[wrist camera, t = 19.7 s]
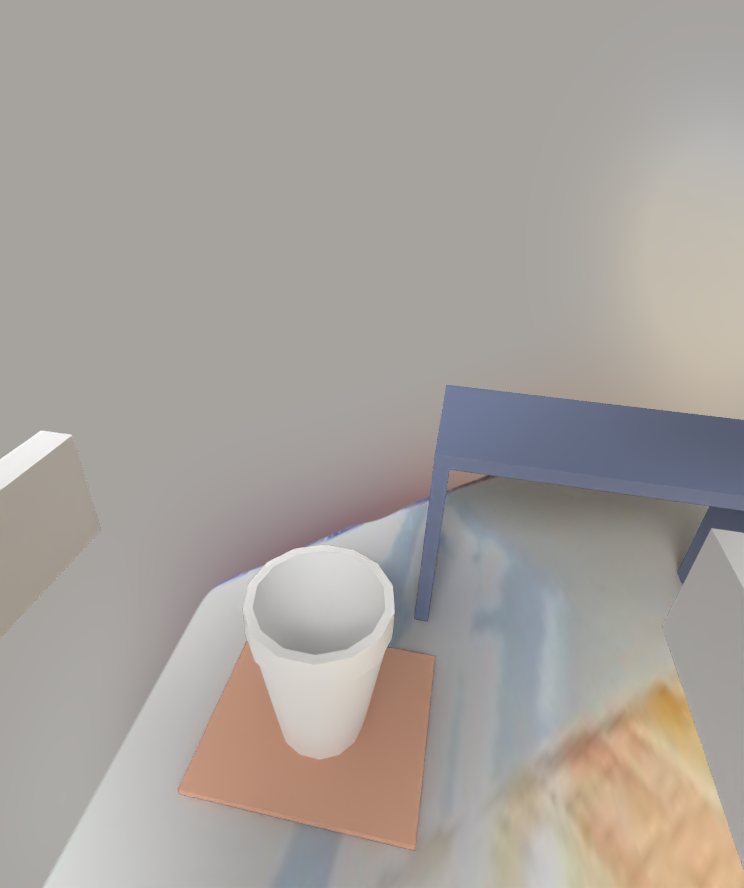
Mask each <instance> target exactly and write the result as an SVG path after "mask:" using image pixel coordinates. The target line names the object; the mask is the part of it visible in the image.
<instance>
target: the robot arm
mask: <svg viewBox="0 0 744 888" xmlns="http://www.w3.org/2000/svg"><path fill="white" fill-rule="evenodd" d="M100 531H101V527H100V524H99V521H98V517H97V514H96V511H95V507H94V504H93V501H92V498H91V495H90V491H89V488H88V485H87V481H86V478H85V475H84V472H83V468H82V465H81V462H80V458H79V455H78V452H77V448H76V446H75V442H74V439H73V436H72V435H68V434H61V433H54V432H48V431H40V432H39V433H37V434H36V435H34V436H33V437H31V438H30V439H29V440H27V441H26V442H24V443H23V444H21V445H20V446H19V447H17V448H16V449H14V450H13V451H11V452H10V453H9V454H7V455H6V456H4V457H3V458H1V459H0V638H1V637H2V636H3V635H4V634H5V633H6V632H7V631H8V630H9V628H10V627H11V626H12V625H13V624H14V623H15V622H16V621H17V620H18V619H19V618H20V617H21V616H22V614H24V612H25V611H26V610H27V609H28V608H29V607H30V606H31V605H32V604H33V603H34V602H35V601H36V600H37V599H38V597H39V596H40V595H41V594H42V593H43V592H44V591H45V590H46V589H47V588H48V587H49V586H50V585H51V584H52V583H53V582H54V580H55V579H56V578H57V577H58V576H59V575H60V574H61V573H62V572H63V571H64V570H65V568H67V567H68V565H69V564H70V563H71V562H72V561H73V560H74V559H75V558H76V557H77V556H78V555H79V554H80V553H81V552H82V551H83V549H84V548H85V547H86V546H87V545H88V544H89V543H90V542H91V541H92V540H93V539H94V538H95V537H96V536H97V535H98V533H99V532H100ZM662 628H663V631H664V634H665V637H666V640H667V643H668V646H669V649H670V652H671V655H672V658H673V661H674V664H675V667H676V670H677V673H678V676H679V679H680V681H681V684H682V687H683V690H684V693H685V696H686V699H687V702H688V705H689V708H690V711H691V714H692V717H693V720H694V723H695V726H696V729H697V732H698V735H699V738H700V741H701V744H702V747H703V750H704V753H705V756H706V759H707V762H708V765H709V768H710V771H711V774H712V777H713V780H714V783H715V786H716V789H717V792H718V795H719V798H720V801H721V804H722V807H723V810H724V813H725V816H726V819H727V822H728V825H729V828H730V831H731V834H732V837H733V840H734V843H735V846H736V849H737V852H738V855H739V858H740V861H741V864H742V867H743V870H744V533H741V532H734V531H728V530H721V529H714V528H711V530H710V532H709V534H708V536H707V538H706V540H705V542H704V544H703V546H702V548H701V550H700V552H699V554H698V556H697V558H696V560H695V562H694V564H693V566H692V568H691V570H690V572H689V574H688V576H687V578H686V580H685V582H684V584H683V586H682V588H681V590H680V592H679V594H678V596H677V598H676V600H675V601H674V603H673V605H672V607H671V609H670V611H669V613H668V615H667V617H666V619H665V621H664V623H663V625H662Z"/></svg>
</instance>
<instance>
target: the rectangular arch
mask: <svg viewBox="0 0 744 888" xmlns="http://www.w3.org/2000/svg"><path fill="white" fill-rule="evenodd" d="M449 470H456V471H464V472H471V473H478V474H485V475H492V476H499V477H506V478H513V479H521V480H528V481H535V482H542V483H549V484H556V485H563V486H570V487H578V488H585V489H592V490H599V491H606V492H613V493H620V494H627V495H635V496H642V497H649V498H656V499H663V500H670V501H677V502H684V503H692V504H699V505H706V506H710V507H709V509H708V511H707V513H706V515H705V517H704V519H703V521H702V523H701V525H700V527H699V529H698V531H697V534H696V536H695V538H694V540H693V542H692V544H691V546H690V548H689V550H688V552H687V554H686V556H685V558H684V560H683V562H682V564H681V566H680V568H679V570H678V575H679V577H680V580H681V582H682V584H684V582H685V580H686V578H687V576H688V574H689V572H690V570H691V568H692V566H693V564H694V562H695V560H696V558H697V556H698V554H699V552H700V550H701V548H702V546H703V544H704V542H705V540H706V538H707V536H708V534H709V532H710V530H711V528H714V529H721V530H728V531H734V532H741V533H744V420H739V419H730V418H722V417H713V416H705V415H697V414H688V413H680V412H671V411H663V410H655V409H646V408H637V407H629V406H621V405H612V404H603V403H596V402H587V401H579V400H570V399H562V398H553V397H545V396H537V395H528V394H520V393H511V392H502V391H494V390H486V389H477V388H469V387H461V386H452V385H446V391H445V397H444V403H443V409H442V415H441V421H440V427H439V433H438V439H437V445H436V451H435V459H434V467H433V475H432V483H431V491H430V499H429V507H428V515H427V523H426V531H425V539H424V547H423V555H422V563H421V571H420V579H419V587H418V595H417V603H416V611H415V619H419V620H425V621H428V614H429V607H430V600H431V593H432V586H433V579H434V572H435V566H436V559H437V552H438V545H439V538H440V531H441V524H442V517H443V510H444V504H445V497H446V490H447V483H448V476H449Z"/></svg>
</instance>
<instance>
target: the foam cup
mask: <svg viewBox="0 0 744 888" xmlns="http://www.w3.org/2000/svg"><path fill="white" fill-rule="evenodd" d="M242 612H243V619H244V627H245V635H246V638H247V640H248V643H249V646H250V649H251V652H252V655H253V658H254V660H255V662H256V663H257V664H258V665H259V666H260V669H261V672H262V675H263V678H264V681H265V684H266V687H267V690H268V693H269V696H270V699H271V702H272V704H273V707H274V710H275V713H276V716H277V719H278V722H279V725H280V728H281V731H282V733H283V736H284V739H285V741H286V743H287V744H288V745H289V746H291V747H292V748H293V749H294V750H295V751H296V752H297V753H298V754H300V755H302V756H307V757H311V758H315V759H324V758H328V757H333V756H337V755H340V754H341V753H342V752H343V751H345V750H346V749H347V748H348V747H350V746H351V745H352V744H353V743H355V741H356V739H357V737H358V735H359V732H360V730H361V728H362V726H363V723H364V721H365V717H366V714H367V711H368V707H369V704H370V700H371V697H372V694H373V690H374V687H375V683H376V680H377V677H378V673H379V670H380V666H381V663H382V660H383V656H384V653H385V650H386V648H387V646H388V645H389V643H390V641H391V639H392V636H393V625H394V615H395V608H394V593H393V585H392V584H391V582H390V581H389V579H388V578H387V576H386V575H385V573H384V572H383V570H382V569H381V568H380V566H379V565H378V564H377V563H375V562H374V561H372V560H370V559H369V558H367V557H365V556H363V555H362V554H360V553H358V552H357V551H355V550H352V549H346V548H340V547H335V546H329V545H318V546H311V547H304V548H296V549H293V550H291V551H289V552H287V553H285V554H283V555H281V556H279V557H277V558H275V559H273V560H271V561H269V562H267V563H266V564H265V565H264V567H263V568H262V569H261V570H260V571H259V572H258V573H257V574H256V576H255V577H254V578H253V579H252V580H251V581H250V582H249V584H248V588H247V592H246V596H245V600H244V604H243V609H242Z"/></svg>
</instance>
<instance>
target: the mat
mask: <svg viewBox="0 0 744 888" xmlns="http://www.w3.org/2000/svg"><path fill="white" fill-rule="evenodd" d="M434 663H435V656H432V655H427V654H422V653H416V652H411V651H406V650H400V649H395V648H390V647H387V648H386V650H385V653H384V656H383V660H382V663H381V666H380V670H379V673H378V677H377V680H376V683H375V687H374V690H373V694H372V697H371V700H370V704H369V707H368V711H367V714H366V717H365V721H364V723H363V726H362V728H361V730H360V732H359V735H358V737H357V739H356V741H355V743H353V744H352V745H351V746H350V747H348V748H347V749H346V750H345V751H343V752H342V753H341V754H340V755H337V756H333V757H328V758H324V759H315V758H311V757H307V756H302V755H300V754H298V753H297V752H296V751H295V750H294V749H293V748H292V747H291V746H289V745H288V744H287V743H286V741H285V739H284V736H283V733H282V731H281V728H280V725H279V722H278V719H277V716H276V713H275V710H274V707H273V704H272V702H271V699H270V696H269V693H268V690H267V687H266V684H265V681H264V678H263V675H262V672H261V669H260V666H259V665H258V664H257V663H256V662H255V660H254V658H253V655H252V652H251V649H250V646H249V643H248V640H247V641H246V644H245V646H244V648H243V650H242V652H241V654H240V657H239V659H238V661H237V663H236V665H235V667H234V669H233V672H232V674H231V676H230V678H229V680H228V682H227V685H226V687H225V689H224V691H223V693H222V695H221V698H220V700H219V702H218V704H217V706H216V708H215V710H214V713H213V715H212V717H211V719H210V721H209V723H208V726H207V728H206V730H205V732H204V734H203V736H202V739H201V741H200V743H199V745H198V747H197V749H196V751H195V754H194V756H193V758H192V760H191V762H190V764H189V767H188V769H187V771H186V773H185V775H184V777H183V779H182V782H181V784H180V786H179V788H178V792H179V794H182V795H186V796H190V797H194V798H198V799H202V800H207V801H211V802H215V803H219V804H223V805H227V806H232V807H236V808H240V809H244V810H248V811H252V812H256V813H261V814H265V815H269V816H273V817H277V818H281V819H286V820H290V821H294V822H298V823H302V824H306V825H311V826H315V827H319V828H323V829H327V830H331V831H335V832H340V833H344V834H348V835H352V836H356V837H360V838H365V839H369V840H373V841H377V842H381V843H385V844H390V845H394V846H398V847H402V848H406V849H410V850H414V851H415V847H416V838H417V828H418V818H419V809H420V799H421V789H422V779H423V770H424V760H425V750H426V740H427V731H428V721H429V711H430V702H431V692H432V682H433V672H434Z"/></svg>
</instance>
